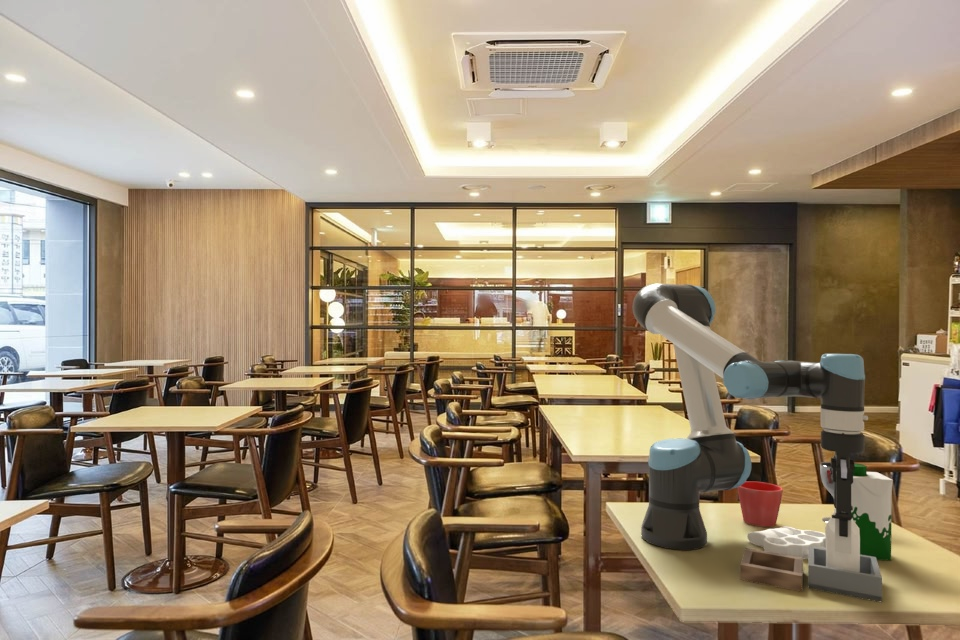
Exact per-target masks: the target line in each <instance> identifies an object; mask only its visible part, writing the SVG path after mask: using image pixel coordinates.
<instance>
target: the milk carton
mask: <svg viewBox="0 0 960 640" xmlns="http://www.w3.org/2000/svg"><path fill="white" fill-rule="evenodd" d="M854 467H855V469H854V471H853V483H852V484H851V506H853V510H851V515H852V519H853V520H854V522H855V523H856V525H857V526H858V527H859V530H860V555H866V556H872V557H876V559H877V561H879V560H880V561H890V562H891V561H892V491H893V481H894V480H893V479H892V478H890V477H888V476H886V475H884V474H882V473H879V472H877V471H867V465H865V464H861V463H855V462H854Z"/></svg>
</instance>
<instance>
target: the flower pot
mask: <svg viewBox="0 0 960 640" xmlns="http://www.w3.org/2000/svg"><path fill="white" fill-rule="evenodd" d="M736 488H737V494H738V500H739V504H740V510H741V514H742V519H743V522H744V521H745V522H744V523H746V524H749V525H751V526H754V525H755V527H759V528H760V527H762V528H770V527H776V525H777V520H778V517H779V512H780V508H781V502H782V498H783V491H784V489H783V488H782V486H779V485H777V484H773V483H770V482H763V481H753V480H752V481H750V480H749V481H747V480H746V482H745V483H744V484H743V485H741V486H739V487H736Z"/></svg>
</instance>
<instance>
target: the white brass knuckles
mask: <svg viewBox="0 0 960 640" xmlns="http://www.w3.org/2000/svg"><path fill="white" fill-rule="evenodd" d="M746 536H747V539H748V541H749V542H750V543H751V544H752V543H753V545H755V546H758V547H762V548H763V551H767V552H773V553H779V554H785V555H791V556H796V557H802V558H803V560H808V552H809V546H811V547H817V548H823V549H826V538H825V532H821V531H818V530H811V529H809V530H808V529H805V530H804V529H803V530H802V529H798V528H794V527H792V526H786V525H783V526H781V527H776V528H768V529H765V530H764V529H763V530H758V531H750V532H748V533H747V535H746Z"/></svg>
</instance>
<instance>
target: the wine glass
mask: <svg viewBox="0 0 960 640" xmlns="http://www.w3.org/2000/svg"><path fill="white" fill-rule="evenodd" d="M819 470H820V479H821V482H822V484H823V486H824V488H825V489H826V490H827V491H828V492H829V493H830V494H831V496H832V498H833V499H834V482H833V478H832V468H831V461H823V462H822V461H821V462H820V463H819ZM834 509H836V508H835V507H834ZM831 517H832V516H825V517H822V518H821V520H822V521H823V522H824V523H827V522H828V521H829V520H830V518H831Z"/></svg>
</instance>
